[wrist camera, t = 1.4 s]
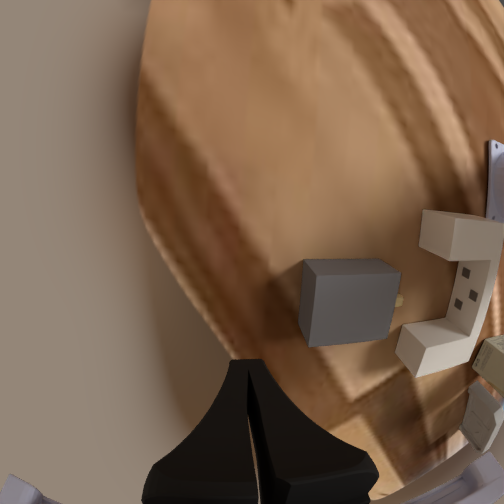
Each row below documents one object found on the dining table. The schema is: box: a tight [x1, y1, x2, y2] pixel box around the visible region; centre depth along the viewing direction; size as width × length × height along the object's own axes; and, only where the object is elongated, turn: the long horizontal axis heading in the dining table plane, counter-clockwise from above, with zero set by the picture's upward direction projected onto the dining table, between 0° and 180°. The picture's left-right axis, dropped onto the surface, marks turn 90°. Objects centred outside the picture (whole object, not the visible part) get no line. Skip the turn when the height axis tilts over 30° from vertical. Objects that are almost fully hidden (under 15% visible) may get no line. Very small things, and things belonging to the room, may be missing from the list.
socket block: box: [395, 209, 504, 378], centre depth 19 cm, size 7×13×4 cm, turn 179°
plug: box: [298, 259, 404, 347], centre depth 19 cm, size 7×5×4 cm
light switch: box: [459, 381, 504, 454], centre depth 24 cm, size 2×12×8 cm, turn 22°
